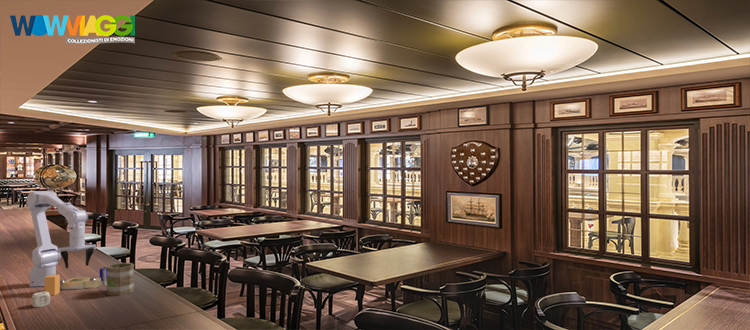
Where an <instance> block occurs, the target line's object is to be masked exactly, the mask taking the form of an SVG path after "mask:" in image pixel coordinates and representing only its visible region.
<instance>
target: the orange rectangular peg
mask: <svg viewBox="0 0 750 330" xmlns="http://www.w3.org/2000/svg"><path fill="white" fill-rule="evenodd" d="M60 280H61V275H60V274H56V275H49V276H46V277H45V286H44V292H49V294H50V296H56V295H58V294H60V293H61V289H60Z"/></svg>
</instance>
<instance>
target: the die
mask: <svg viewBox="0 0 750 330" xmlns="http://www.w3.org/2000/svg"><path fill="white" fill-rule="evenodd" d="M50 303H51V295H50V294H49V292H45V291H39V292H35V293H33V294H32V296H31V304H32V307H33V308H43V307H47V306H49V304H50Z"/></svg>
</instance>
